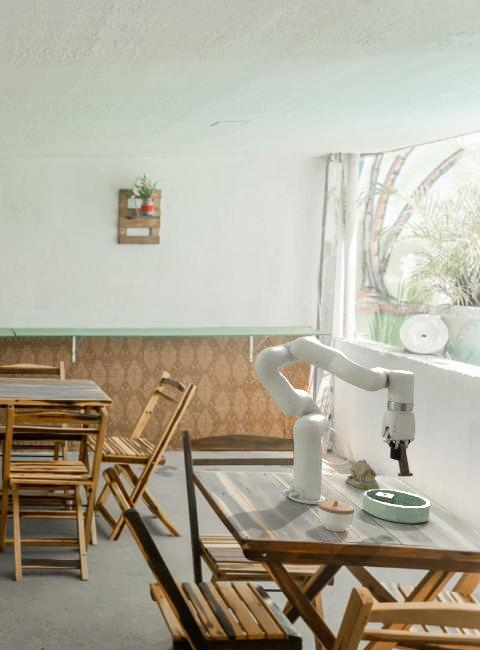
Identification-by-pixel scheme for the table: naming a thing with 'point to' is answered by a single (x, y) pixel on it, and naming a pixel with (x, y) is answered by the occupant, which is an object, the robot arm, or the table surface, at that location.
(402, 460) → the muddler
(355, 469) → the ceramic model
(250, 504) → the table surface
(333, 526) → the trinket box
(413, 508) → the bowl
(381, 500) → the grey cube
